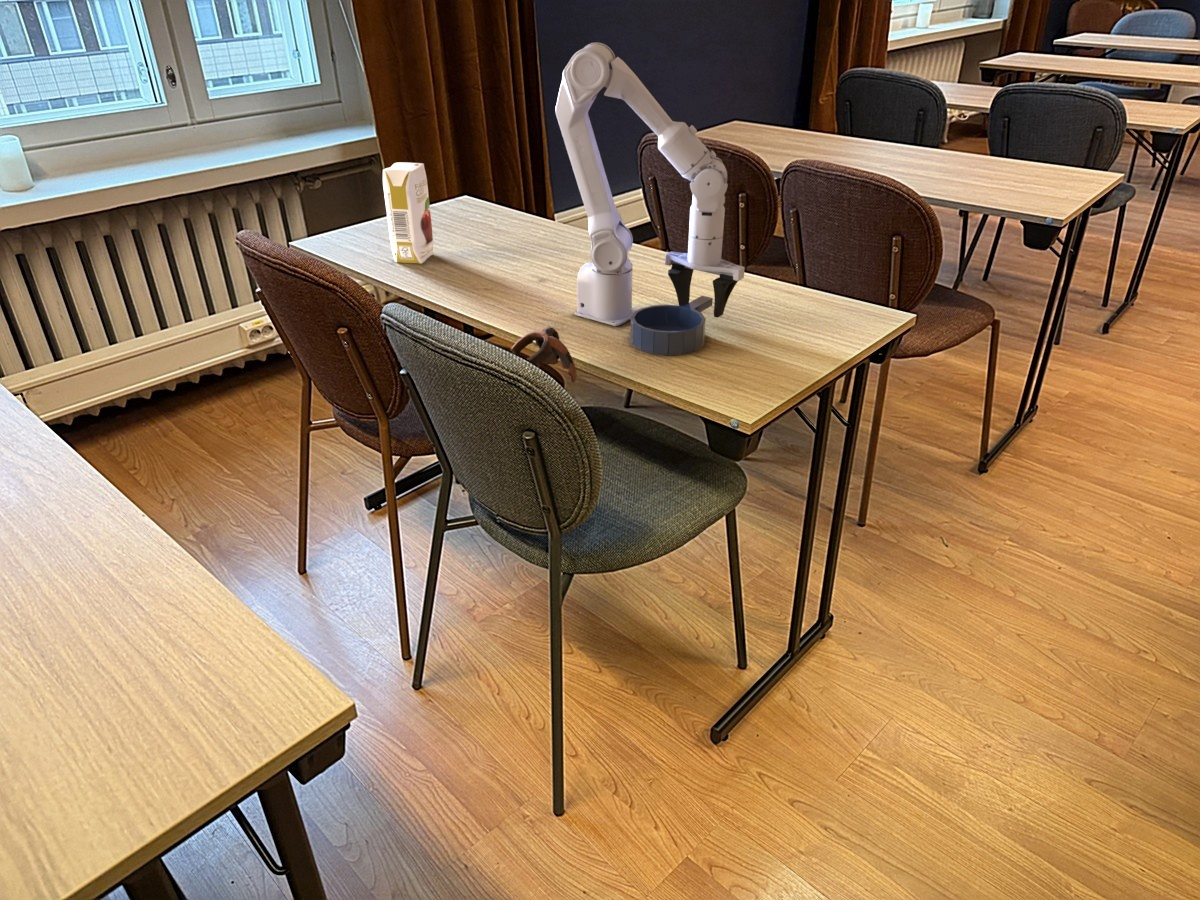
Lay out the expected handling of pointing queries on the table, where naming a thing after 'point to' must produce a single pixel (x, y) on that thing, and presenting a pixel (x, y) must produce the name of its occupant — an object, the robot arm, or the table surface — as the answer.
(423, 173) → the juice carton
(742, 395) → the table surface
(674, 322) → the blue measuring scoop
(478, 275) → the table surface
